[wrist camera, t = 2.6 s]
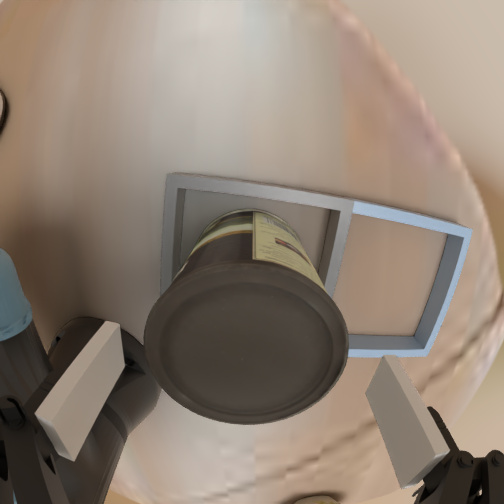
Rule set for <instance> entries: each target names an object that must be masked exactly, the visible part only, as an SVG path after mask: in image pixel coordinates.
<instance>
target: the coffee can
mask: <svg viewBox="0 0 504 504" xmlns="http://www.w3.org/2000/svg"><path fill="white" fill-rule="evenodd" d="M144 352H145V356H146V361H147V364H148V366H149V369H150V371H151V373H152V375H153V376H154V378H155V380H156V381H157V382H158V384H159V385H160V386H161V387H162V389H163V390H164V391H165V392H166V393H167V394H168V395H169V396H170V397H171V398H172V399H174V400H175V401H176V402H178V403H179V404H181V405H182V406H184V407H185V408H187V409H189V410H190V411H192V412H194V413H196V414H198V415H201V416H203V417H206V418H209V419H212V420H216V421H219V422H225V423H230V424H242V425H255V424H265V423H271V422H276V421H280V420H283V419H287V418H290V417H292V416H294V415H297V414H299V413H301V412H303V411H305V410H307V409H308V408H310V407H312V406H313V405H314V404H316V403H317V402H319V401H320V400H321V399H322V398H323V397H324V396H326V395H327V394H328V393H329V391H330V390H331V389H332V388H333V387H334V385H335V384H336V382H337V381H338V380H339V378H340V376H341V374H342V373H343V370H344V368H345V366H346V362H347V358H348V352H349V336H348V330H347V327H346V323H345V321H344V319H343V316H342V314H341V312H340V310H339V309H338V307H337V306H336V304H335V303H334V301H333V300H332V299H331V297H330V296H329V295H328V293H327V291H326V289H325V288H324V286H323V284H322V282H321V280H320V278H319V276H318V274H317V272H316V270H315V268H314V267H313V265H312V263H311V261H310V259H309V257H308V256H307V254H306V252H305V250H304V249H303V247H302V244H301V242H300V240H299V238H298V236H297V234H296V233H295V231H294V230H293V229H292V228H291V227H290V226H289V225H288V224H287V223H286V222H285V221H284V220H282V219H281V218H279V217H277V216H276V215H273V214H271V213H269V212H266V211H262V210H257V209H241V210H236V211H232V212H229V213H227V214H224V215H222V216H220V217H219V218H217V219H216V220H214V221H213V222H212V223H211V224H209V226H208V227H207V228H206V229H205V230H204V231H203V233H202V235H201V236H200V238H199V240H198V242H197V244H196V246H195V247H194V249H193V250H192V252H191V254H190V255H189V257H188V258H187V260H186V261H185V263H184V264H183V266H182V267H181V269H180V270H179V272H178V273H177V275H176V276H175V278H174V280H173V282H172V283H171V285H170V286H169V288H168V289H167V290H166V291H165V292H164V293H163V294H162V295H161V297H160V298H159V299H158V300H157V302H156V303H155V305H154V306H153V308H152V310H151V312H150V314H149V316H148V319H147V322H146V325H145V329H144Z"/></svg>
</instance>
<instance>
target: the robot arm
mask: <svg viewBox="0 0 504 504" xmlns="http://www.w3.org/2000/svg"><path fill="white" fill-rule="evenodd" d="M161 389H162V387H161V386H160V385H159V384H158V382H157V381H156V380H155V378H154V376H153V375H152V373H151V371H150V369H149V366H148V364H147V361H146V356H145V352H144V347H143V346H142V345H141V344H140V343H139V342H138V341H137V340H136V339H134V338H133V337H132V336H131V335H129V334H128V333H126V332H125V331H123V330H122V329H120V324H118V323H114V322H110V321H103V320H99V319H95V318H77V319H73V320H71V321H69V322H68V323H67V324H65V325H64V326H63V328H62V329H61V330H60V331H59V332H58V333H57V334H56V335H55V337H54V339H53V341H52V343H51V347H50V349H49V352H48V355H47V354H46V352H45V349H44V347H43V344H42V342H41V340H40V337H39V335H38V332H37V329H36V327H35V324H34V321H33V318H32V309H31V305H30V303H29V301H28V299H27V298H26V297H25V295H24V293H23V290H22V287H21V284H20V281H19V278H18V275H17V272H16V268H15V265H14V263H13V261H12V259H11V257H10V256H9V255H8V253H7V252H6V251H4V250H3V249H2V248H0V504H104V501H105V498H106V495H107V492H108V489H109V486H110V484H111V481H112V478H113V475H114V472H115V469H116V467H117V464H118V461H119V459H120V456H121V453H122V450H123V448H124V445H125V442H126V440H127V437H128V435H129V434H130V433H131V432H132V431H133V430H134V429H135V428H136V427H137V426H138V425H139V424H140V423H141V422H142V421H143V420H144V419H145V418H146V417H147V416H148V415H149V414H150V413H151V412H152V410H153V409H154V407H155V406H156V404H157V401H158V398H159V396H160V393H161ZM366 396H367V398H368V401H369V403H370V406H371V408H372V411H373V413H374V416H375V419H376V421H377V424H378V426H379V429H380V432H381V434H382V437H383V440H384V442H385V445H386V448H387V450H388V453H389V456H390V459H391V461H392V464H393V467H394V470H395V473H396V476H397V478H398V481H399V484H400V487H401V489H405V488H409V487H412V486H415V485H416V484H418V483H419V482H420V481H421V480H422V479H423V481H424V484H423V486H421V487H420V488H419V489H418V490H417V491H416V492H414V494H413V495H412V496H413V497H414V496H415V495H416V494H417V493H418V496H417V497H416V500H415V502H414V504H504V454H503V453H502V452H500V451H498V450H492V451H491V452H489V453H488V454H487V456H486V457H482V458H474V457H473V456H472V455H471V454H470V453H469V452H467V451H460V450H459V449H458V447H457V445H456V443H455V442H454V440H453V438H452V436H451V434H450V432H449V431H448V429H446V425H445V424H444V422H443V420H442V418H441V417H440V415H439V413H438V412H437V411H436V410H435V409H434V408H432V407H431V406H430V407H426V405H425V403H424V402H423V400H422V398H421V396H420V395H419V393H418V391H417V390H416V388H415V386H414V384H413V383H412V381H411V379H410V378H409V376H408V374H407V373H406V371H405V369H404V368H403V366H402V365H401V363H400V361H399V360H398V358H397V356H396V355H383V357H382V359H381V361H380V364H379V366H378V368H377V370H376V372H375V375H374V377H373V379H372V381H371V383H370V385H369V387H368V389H367V391H366ZM481 489H482V494H481V495H479V491H480V490H481Z"/></svg>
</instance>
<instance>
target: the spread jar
mask: <svg viewBox="0 0 504 504" xmlns="http://www.w3.org/2000/svg"><path fill="white" fill-rule="evenodd" d="M4 114H5V97H4V95H3V93H2V92H1V91H0V127H1V125H2V122H3V119H4Z"/></svg>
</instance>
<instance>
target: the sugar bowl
mask: <svg viewBox="0 0 504 504" xmlns="http://www.w3.org/2000/svg"><path fill="white" fill-rule="evenodd" d="M294 504H340V503H339V502H337V501H335V500H334V499H332V498H331V497H329V496H312V497H307V498H303V499H301V500H298V501H296V502H295V503H294Z"/></svg>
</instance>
